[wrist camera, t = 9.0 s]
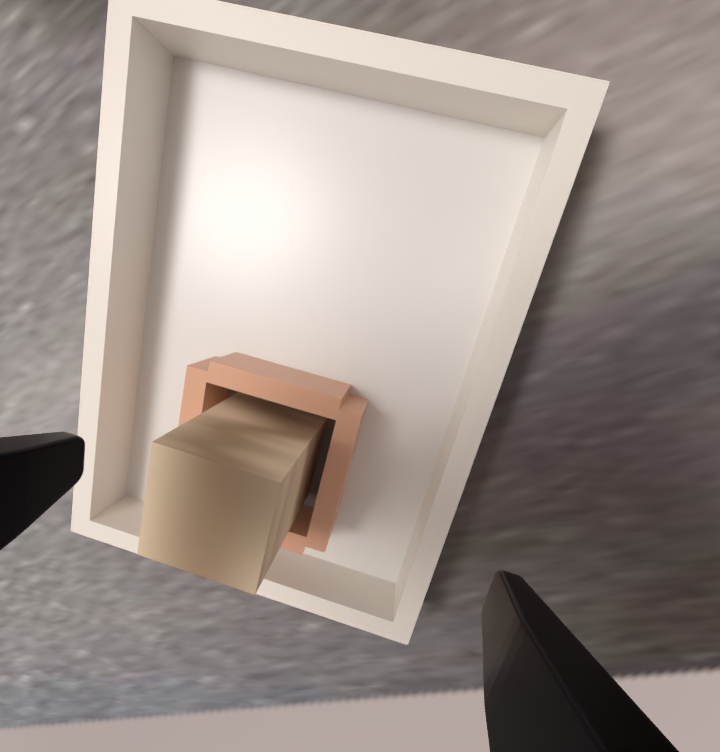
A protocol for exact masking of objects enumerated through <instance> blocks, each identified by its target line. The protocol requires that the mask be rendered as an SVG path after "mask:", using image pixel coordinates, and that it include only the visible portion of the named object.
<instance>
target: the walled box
mask: <svg viewBox="0 0 720 752" xmlns="http://www.w3.org/2000/svg"><path fill="white" fill-rule="evenodd" d="M609 83H610V81H605V80H600V79H595V78H590V77H586V76H581V75H576V74H571V73H566V72H561V71H557V70H552V69H547V68H542V67H537V66H532V65H527V64H523V63H518V62H513V61H508V60H503V59H498V58H494V57H489V56H484V55H479V54H474V53H469V52H464V51H460V50H455V49H450V48H445V47H440V46H435V45H431V44H426V43H421V42H416V41H411V40H406V39H401V38H397V37H392V36H387V35H382V34H377V33H372V32H367V31H363V30H358V29H353V28H348V27H343V26H338V25H334V24H329V23H324V22H319V21H314V20H309V19H304V18H300V17H295V16H290V15H285V14H280V13H275V12H271V11H266V10H261V9H256V8H251V7H246V6H241V5H237V4H232V3H227V2H222V1H217V0H108V13H107V27H106V41H105V55H104V69H103V84H102V98H101V112H100V126H99V140H98V154H97V168H96V182H95V196H94V210H93V224H92V239H91V253H90V267H89V281H88V295H87V309H86V323H85V337H84V351H83V365H82V379H81V393H80V408H79V422H78V436H80V437H82V438H83V439H84V442H85V456H84V471H83V474H82V477H81V478H80V480H79V481H78V482H77V483H76V484H75V485H74V492H73V506H72V520H71V531H72V532H75V533H78V534H81V535H84V536H87V537H90V538H93V539H96V540H99V541H102V542H105V543H108V544H111V545H114V546H117V547H120V548H122V549H125V550H128V551H131V552H134V553H137V552H138V544H139V536H140V529H141V521H142V513H143V506H144V498H145V490H146V483H147V475H148V467H149V460H150V452H151V444H152V441H154V440H156V439H157V438H159V437H161V436H163V435H164V434H166V433H168V432H170V431H171V430H173V429H175V428H177V427H178V426H180V425H182V424H184V423H185V422H187V421H189V420H191V419H192V418H194V417H196V416H198V415H199V414H201V413H203V412H205V411H206V410H208V409H210V408H212V407H213V406H215V405H217V404H219V403H220V402H222V401H224V400H226V399H227V398H229V397H231V396H233V395H234V394H236V393H238V392H241V393H245V394H248V395H252V396H255V397H258V398H262V399H265V400H269V401H272V402H275V403H279V404H282V405H286V406H289V407H292V408H296V409H299V410H303V411H306V412H309V413H313V414H316V415H320V416H323V417H326V418H328V421H327V425H326V429H325V433H324V437H323V441H322V445H321V449H320V453H319V457H318V461H317V464H316V468H315V472H314V476H313V480H312V484H311V488H310V492H309V494H308V496H307V498H306V500H305V502H304V504H303V506H302V507H301V509H300V511H299V513H298V515H297V517H296V519H295V521H294V523H293V524H292V526H291V528H290V530H289V532H288V534H287V536H286V538H285V539H284V541H283V543H282V545H281V547H280V549H279V551H278V553H277V555H276V556H275V558H274V560H273V562H272V564H271V566H270V568H269V570H268V571H267V573H266V575H265V577H264V579H263V581H262V583H261V585H260V586H259V588H258V590H257V592H256V594H258V595H261V596H264V597H267V598H270V599H273V600H276V601H279V602H282V603H285V604H288V605H291V606H294V607H297V608H299V609H302V610H305V611H308V612H311V613H314V614H317V615H320V616H323V617H326V618H329V619H332V620H335V621H338V622H341V623H344V624H347V625H350V626H353V627H355V628H358V629H361V630H364V631H367V632H370V633H373V634H376V635H379V636H382V637H385V638H388V639H391V640H394V641H397V642H400V643H403V644H406V645H408V643H409V640H410V637H411V634H412V632H413V629H414V626H415V623H416V621H417V618H418V615H419V612H420V609H421V607H422V604H423V601H424V598H425V595H426V593H427V590H428V587H429V584H430V582H431V579H432V576H433V573H434V570H435V568H436V565H437V562H438V559H439V556H440V554H441V551H442V548H443V545H444V543H445V540H446V537H447V534H448V531H449V529H450V526H451V523H452V520H453V517H454V515H455V512H456V509H457V506H458V504H459V501H460V498H461V495H462V492H463V490H464V487H465V484H466V481H467V478H468V476H469V473H470V470H471V467H472V465H473V462H474V459H475V456H476V453H477V451H478V448H479V445H480V442H481V439H482V437H483V434H484V431H485V428H486V426H487V423H488V420H489V417H490V414H491V412H492V409H493V406H494V403H495V400H496V398H497V395H498V392H499V389H500V387H501V384H502V381H503V378H504V375H505V373H506V370H507V367H508V364H509V361H510V359H511V356H512V353H513V350H514V348H515V345H516V342H517V339H518V336H519V334H520V331H521V328H522V325H523V322H524V320H525V317H526V314H527V311H528V309H529V306H530V303H531V300H532V297H533V295H534V292H535V289H536V286H537V283H538V281H539V278H540V275H541V272H542V270H543V267H544V264H545V261H546V258H547V256H548V253H549V250H550V247H551V244H552V242H553V239H554V236H555V233H556V230H557V228H558V225H559V222H560V219H561V217H562V214H563V211H564V208H565V205H566V203H567V200H568V197H569V194H570V191H571V189H572V186H573V183H574V180H575V178H576V175H577V172H578V169H579V166H580V164H581V161H582V158H583V155H584V152H585V150H586V147H587V144H588V141H589V139H590V136H591V133H592V130H593V127H594V125H595V122H596V119H597V116H598V113H599V111H600V108H601V105H602V102H603V100H604V97H605V94H606V91H607V88H608V86H609Z"/></svg>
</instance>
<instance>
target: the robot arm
mask: <svg viewBox="0 0 720 752" xmlns="http://www.w3.org/2000/svg"><path fill="white" fill-rule="evenodd" d="M84 456H85V442H84V439H83V438H82V437H80V436H77V435H74V434H71V433H68V432H54V433H43V434H33V435H22V436H11V437H1V438H0V550H1V549H3V548H4V547H5V546H6V545H8V544H9V543H10V542H11V541H13V540H14V539H15V538H16V537H17V536H18V535H20V534H21V533H22V532H23V531H24V530H25V529H27V528H28V527H29V526H30V525H31V524H32V523H33V522H34V521H35V520H36V519H38V518H39V517H40V516H41V515H42V514H43V513H44V512H45V511H46V510H48V509H49V508H50V507H51V506H52V505H53V504H54V503H55V502H56V501H57V500H59V499H60V498H61V497H62V496H63V495H64V494H65V493H66V492H67V491H69V490H70V489H71V488H72V487H73V486H74V485H75V484H76V483H77V482H78V481H79V480H80V478H81V477H82V474H83V471H84ZM482 638H483V675H484V702H485V713H486V722H487V729H488V738H489V746H490V752H679V751H678V750H677V749H676V748H675V747H674V746H673V745H672V744H671V742H670V741H669V740H668V739H667V738H666V737H665V736H664V735H663V734H662V732H661V731H660V730H659V729H658V728H657V727H656V726H655V725H654V724H653V722H652V721H651V720H650V719H649V718H648V717H647V716H646V715H645V714H644V712H643V711H642V710H641V709H640V708H639V707H638V706H637V705H636V704H635V702H633V700H632V699H631V698H630V697H629V696H628V695H627V694H626V692H625V691H624V690H623V689H622V688H621V687H620V686H619V685H618V684H617V682H616V681H615V680H614V679H613V678H612V677H611V676H610V675H609V674H608V672H607V671H606V670H605V669H604V668H603V667H602V666H601V665H600V664H599V662H598V661H597V660H596V659H595V658H594V657H593V656H592V655H591V654H590V652H589V651H588V650H587V649H586V648H585V647H584V646H583V645H582V644H581V643H580V641H579V640H578V639H577V638H576V637H575V636H574V635H573V634H572V633H571V631H570V630H569V629H568V628H567V627H566V626H565V625H564V624H563V623H562V621H561V620H560V619H559V618H558V617H557V616H556V615H555V614H554V613H553V611H552V610H551V609H550V608H549V607H548V606H547V605H546V604H545V603H544V601H543V600H542V599H541V598H540V597H539V596H538V595H537V594H536V593H535V591H534V590H533V589H532V588H531V587H530V586H529V585H528V584H527V583H526V581H525V580H524V579H523V578H522V577H521V576H519V575H516V574H513V573H510V572H506V571H503V570H499V571H498V572H497V573H496V574H495V576H494V578H493V581H492V583H491V586H490V589H489V591H488V594H487V596H486V599H485V601H484V604H483V609H482Z"/></svg>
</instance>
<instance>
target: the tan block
mask: <svg viewBox="0 0 720 752" xmlns="http://www.w3.org/2000/svg"><path fill="white" fill-rule="evenodd" d="M327 421H328V418H326V417H323V416H320V415H316V414H313V413H309V412H306V411H303V410H299V409H296V408H292V407H289V406H286V405H282V404H279V403H275V402H272V401H269V400H265V399H262V398H258V397H255V396H252V395H248V394H245V393H241V392H238V393H236V394H234V395H233V396H231V397H229V398H227V399H226V400H224V401H222V402H220V403H219V404H217V405H215V406H213V407H212V408H210V409H208V410H206V411H205V412H203V413H201V414H199V415H198V416H196V417H194V418H192V419H191V420H189V421H187V422H185V423H184V424H182V425H180V426H178V427H177V428H175V429H173V430H171V431H170V432H168V433H166V434H164V435H163V436H161V437H159V438H157V439H156V440H154V441H152V444H151V452H150V460H149V467H148V475H147V483H146V490H145V498H144V506H143V513H142V521H141V529H140V536H139V544H138V552H137V554H138V555H141V556H143V557H146V558H149V559H152V560H155V561H158V562H161V563H164V564H167V565H170V566H172V567H175V568H178V569H181V570H184V571H187V572H190V573H193V574H196V575H199V576H202V577H204V578H207V579H210V580H213V581H216V582H219V583H222V584H225V585H228V586H231V587H233V588H236V589H239V590H242V591H245V592H248V593H251V594H254V595H255V594H256V592H257V590H258V588H259V586H260V585H261V583H262V581H263V579H264V577H265V575H266V573H267V571H268V570H269V568H270V566H271V564H272V562H273V560H274V558H275V556H276V555H277V553H278V551H279V549H280V547H281V545H282V543H283V541H284V539H285V538H286V536H287V534H288V532H289V530H290V528H291V526H292V524H293V523H294V521H295V519H296V517H297V515H298V513H299V511H300V509H301V507H302V506H303V504H304V502H305V500H306V498H307V496H308V494H309V492H310V488H311V484H312V480H313V476H314V472H315V468H316V464H317V461H318V457H319V453H320V449H321V445H322V441H323V437H324V433H325V429H326V425H327Z"/></svg>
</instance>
